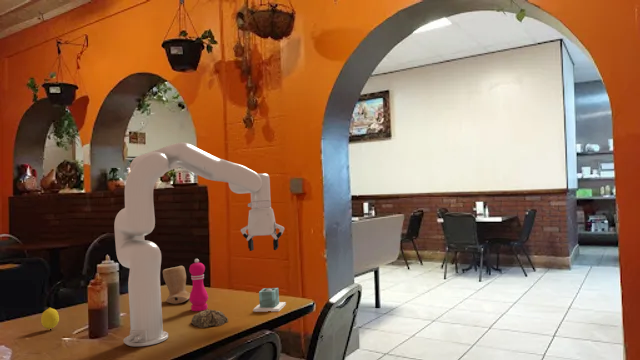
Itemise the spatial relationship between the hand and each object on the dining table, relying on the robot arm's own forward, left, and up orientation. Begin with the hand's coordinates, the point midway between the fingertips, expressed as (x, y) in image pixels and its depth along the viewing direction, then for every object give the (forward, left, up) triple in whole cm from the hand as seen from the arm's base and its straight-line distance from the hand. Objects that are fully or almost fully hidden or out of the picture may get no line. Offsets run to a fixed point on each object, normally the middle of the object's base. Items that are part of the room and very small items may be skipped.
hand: (263, 250), depth 181 cm
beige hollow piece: (+16, +45, -23) cm, 53 cm away
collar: (+1, -1, -21) cm, 21 cm away
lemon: (-25, +73, -23) cm, 80 cm away
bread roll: (-18, +15, -23) cm, 33 cm away
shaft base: (+1, -1, -22) cm, 22 cm away
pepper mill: (+1, +28, -23) cm, 36 cm away
